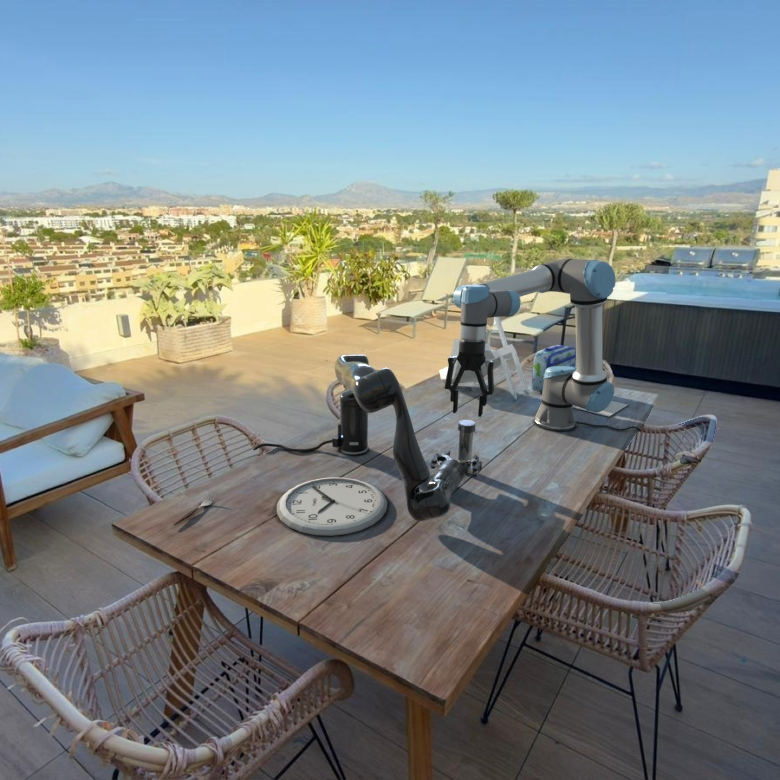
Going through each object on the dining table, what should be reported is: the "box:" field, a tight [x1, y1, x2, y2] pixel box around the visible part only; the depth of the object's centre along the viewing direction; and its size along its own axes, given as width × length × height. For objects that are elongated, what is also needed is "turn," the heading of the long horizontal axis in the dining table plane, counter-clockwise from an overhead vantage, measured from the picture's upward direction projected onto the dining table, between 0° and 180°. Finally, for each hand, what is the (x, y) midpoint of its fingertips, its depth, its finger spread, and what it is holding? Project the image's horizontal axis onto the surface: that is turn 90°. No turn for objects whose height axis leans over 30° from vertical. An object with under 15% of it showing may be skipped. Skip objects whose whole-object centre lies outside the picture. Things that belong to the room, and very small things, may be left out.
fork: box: [173, 490, 218, 526], centre depth 138 cm, size 3×16×2 cm, turn 160°
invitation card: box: [573, 400, 629, 418], centre depth 226 cm, size 21×1×15 cm
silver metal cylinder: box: [457, 431, 474, 475], centre depth 162 cm, size 4×4×16 cm
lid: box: [457, 419, 476, 433], centre depth 160 cm, size 5×5×2 cm
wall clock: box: [276, 476, 388, 537], centre depth 142 cm, size 30×2×30 cm
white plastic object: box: [438, 317, 531, 400], centre depth 245 cm, size 37×45×31 cm
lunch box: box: [531, 344, 576, 393], centre depth 246 cm, size 26×11×21 cm, turn 135°
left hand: (462, 455), depth 160 cm, fingers open, 8 cm apart
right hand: (467, 413), depth 159 cm, fingers open, 7 cm apart
